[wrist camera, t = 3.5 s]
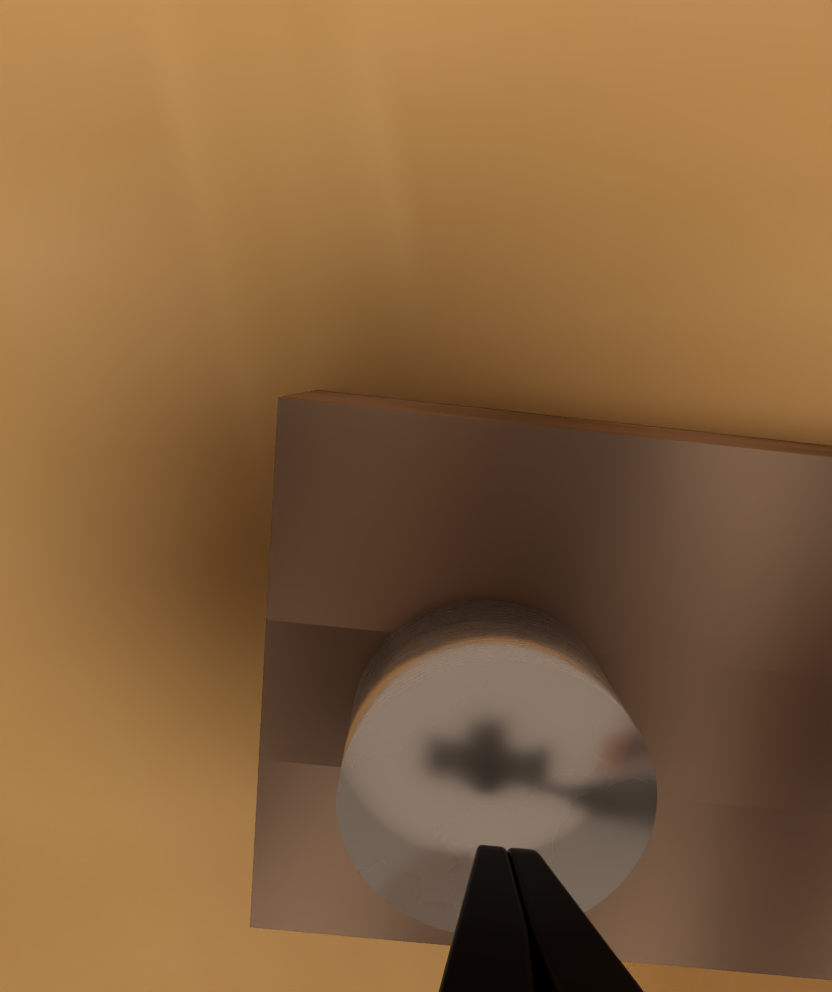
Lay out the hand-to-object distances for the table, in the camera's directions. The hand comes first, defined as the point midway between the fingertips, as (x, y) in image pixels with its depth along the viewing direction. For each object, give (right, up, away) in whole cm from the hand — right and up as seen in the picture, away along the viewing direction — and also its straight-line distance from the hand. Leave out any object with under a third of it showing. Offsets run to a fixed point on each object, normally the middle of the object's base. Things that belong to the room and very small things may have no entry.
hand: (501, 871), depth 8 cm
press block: (+8, +1, +8) cm, 11 cm away
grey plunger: (0, +2, +8) cm, 8 cm away
